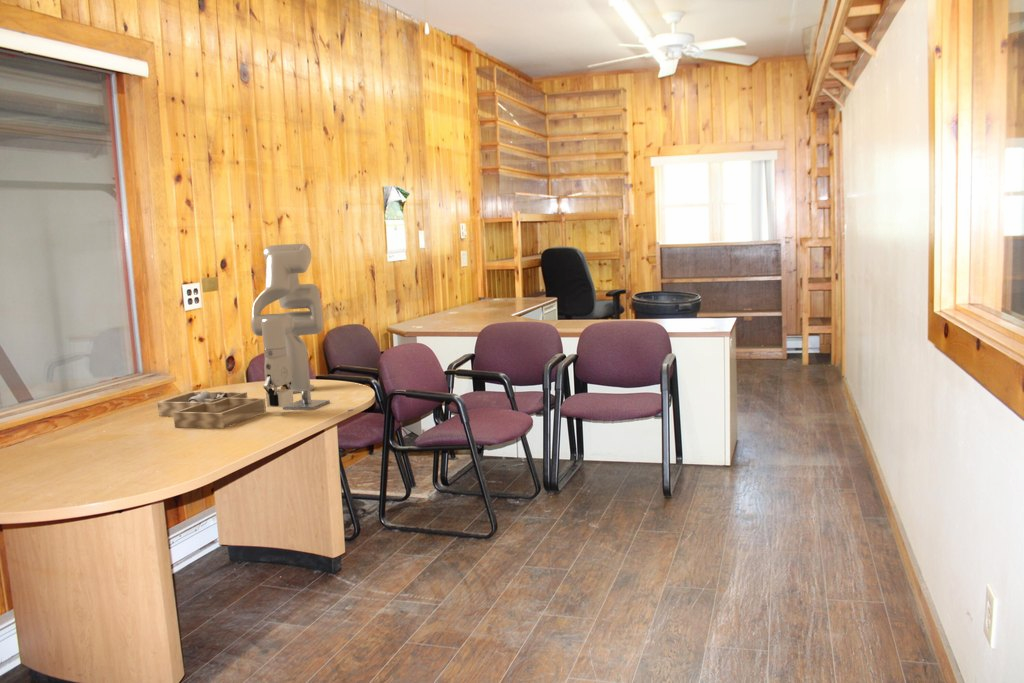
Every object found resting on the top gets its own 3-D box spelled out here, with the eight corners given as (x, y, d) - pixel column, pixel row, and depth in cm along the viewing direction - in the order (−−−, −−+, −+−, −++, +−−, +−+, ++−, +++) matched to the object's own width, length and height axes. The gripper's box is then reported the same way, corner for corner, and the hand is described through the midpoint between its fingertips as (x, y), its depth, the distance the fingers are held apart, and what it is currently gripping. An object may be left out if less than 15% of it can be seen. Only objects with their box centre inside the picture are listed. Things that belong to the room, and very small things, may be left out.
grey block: (267, 406, 288) (265, 390, 287) (278, 402, 294) (276, 386, 293) (283, 407, 286) (281, 391, 285) (294, 402, 292) (292, 386, 291)
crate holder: (158, 415, 298) (157, 402, 297) (194, 404, 315) (193, 391, 315) (214, 417, 290) (213, 403, 289) (248, 405, 308) (246, 392, 307)
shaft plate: (282, 409, 298) (281, 394, 297) (301, 402, 309) (300, 387, 308) (311, 410, 294) (310, 394, 293) (329, 402, 305) (328, 388, 304)
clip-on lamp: (206, 423, 294) (231, 401, 311) (204, 407, 292) (229, 386, 308) (175, 420, 296) (201, 399, 312) (173, 404, 293) (199, 383, 310)
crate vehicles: (174, 427, 278) (173, 412, 277) (221, 411, 300) (220, 397, 300) (222, 428, 272) (220, 413, 271) (266, 412, 294) (264, 398, 293)
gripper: (270, 357, 278) (275, 409, 281) (298, 348, 294) (303, 397, 297) (251, 357, 280) (256, 409, 283) (280, 348, 296) (285, 397, 299)
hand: (280, 402), depth 290 cm, fingers closed on grey block, 6 cm apart
